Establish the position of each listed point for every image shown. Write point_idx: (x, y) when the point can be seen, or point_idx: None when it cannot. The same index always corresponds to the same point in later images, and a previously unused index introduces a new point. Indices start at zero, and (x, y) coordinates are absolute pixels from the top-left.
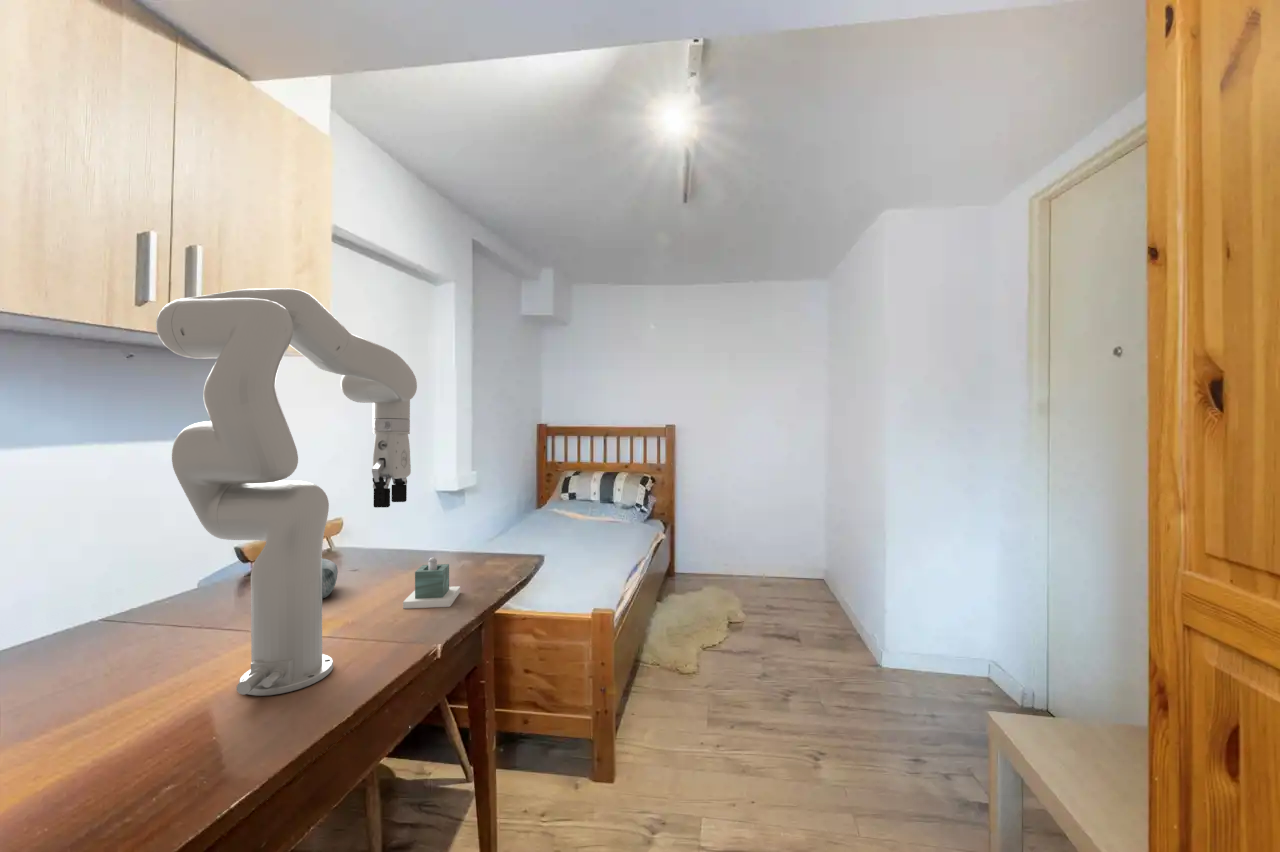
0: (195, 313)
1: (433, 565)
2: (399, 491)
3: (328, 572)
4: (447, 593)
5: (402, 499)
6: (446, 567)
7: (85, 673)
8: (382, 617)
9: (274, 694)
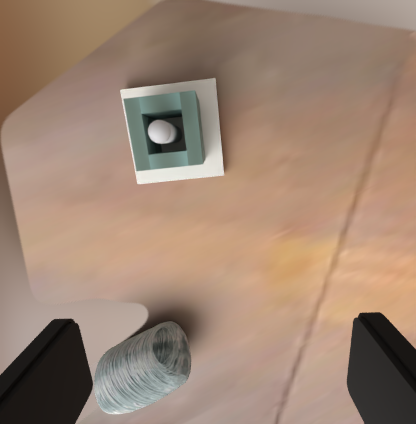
0: None
1: (170, 125)
2: (36, 422)
3: (162, 352)
4: None
5: (72, 343)
6: (153, 95)
7: None
8: (266, 190)
9: None
